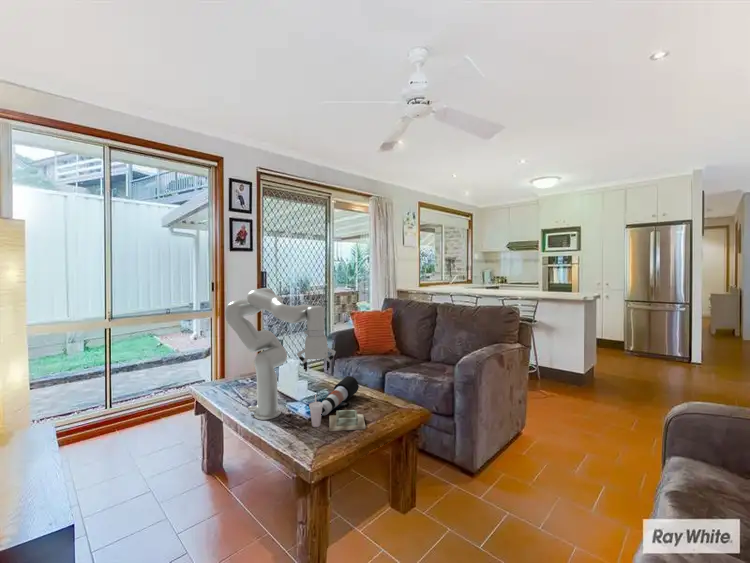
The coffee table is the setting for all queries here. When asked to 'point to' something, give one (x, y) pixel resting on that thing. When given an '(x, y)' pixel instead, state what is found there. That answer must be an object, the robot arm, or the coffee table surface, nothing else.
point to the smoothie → (316, 412)
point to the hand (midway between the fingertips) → (316, 370)
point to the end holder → (346, 420)
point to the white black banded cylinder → (340, 394)
